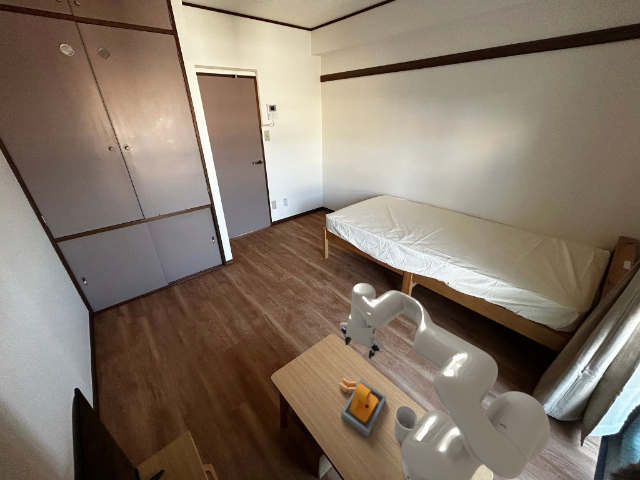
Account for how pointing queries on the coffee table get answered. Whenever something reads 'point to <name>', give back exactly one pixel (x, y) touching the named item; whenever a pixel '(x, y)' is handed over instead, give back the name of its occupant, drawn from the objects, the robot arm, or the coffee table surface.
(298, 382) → the coffee table surface
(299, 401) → the coffee table surface
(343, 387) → the clip
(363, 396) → the bracket
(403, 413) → the cup
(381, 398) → the gray tray
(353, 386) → the clip
